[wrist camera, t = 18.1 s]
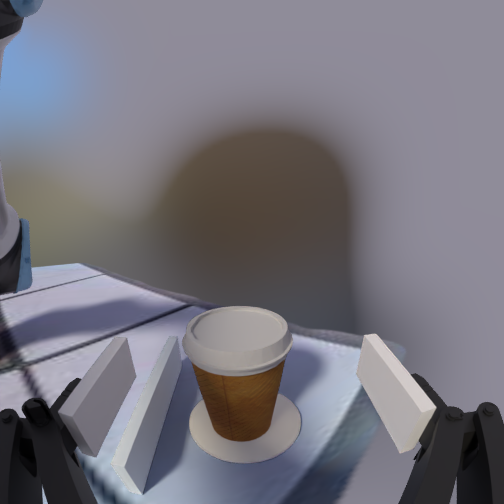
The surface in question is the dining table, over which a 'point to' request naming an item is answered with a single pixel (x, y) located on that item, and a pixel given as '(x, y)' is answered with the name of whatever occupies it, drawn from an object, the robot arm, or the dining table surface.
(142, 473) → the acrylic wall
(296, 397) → the dining table surface
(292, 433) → the mat
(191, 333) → the disposable coffee cup
